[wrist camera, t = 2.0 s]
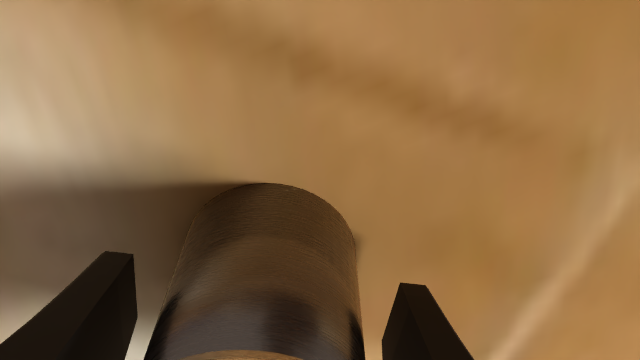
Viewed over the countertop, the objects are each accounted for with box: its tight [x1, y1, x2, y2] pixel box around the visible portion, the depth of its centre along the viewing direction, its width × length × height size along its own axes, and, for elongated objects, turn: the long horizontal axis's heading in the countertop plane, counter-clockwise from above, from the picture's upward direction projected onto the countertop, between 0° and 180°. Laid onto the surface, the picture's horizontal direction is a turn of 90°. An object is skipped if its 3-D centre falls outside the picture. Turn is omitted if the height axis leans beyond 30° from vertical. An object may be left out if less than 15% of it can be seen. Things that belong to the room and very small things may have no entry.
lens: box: [144, 183, 365, 360], centre depth 11 cm, size 4×4×6 cm
